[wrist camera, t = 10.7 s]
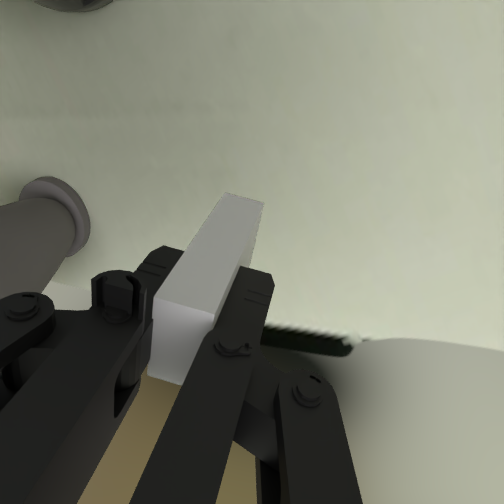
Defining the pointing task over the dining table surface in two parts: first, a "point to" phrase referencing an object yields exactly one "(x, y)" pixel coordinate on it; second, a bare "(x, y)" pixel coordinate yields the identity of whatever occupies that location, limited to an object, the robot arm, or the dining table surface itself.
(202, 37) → the dining table surface
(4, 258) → the vase
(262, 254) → the dining table surface
